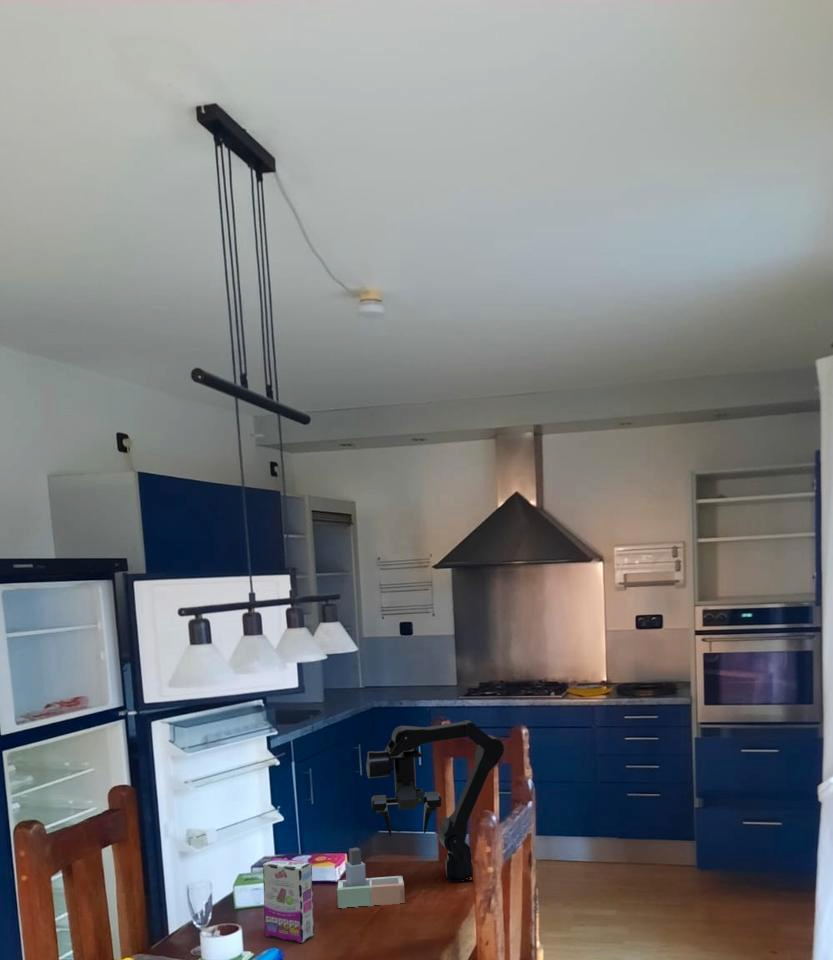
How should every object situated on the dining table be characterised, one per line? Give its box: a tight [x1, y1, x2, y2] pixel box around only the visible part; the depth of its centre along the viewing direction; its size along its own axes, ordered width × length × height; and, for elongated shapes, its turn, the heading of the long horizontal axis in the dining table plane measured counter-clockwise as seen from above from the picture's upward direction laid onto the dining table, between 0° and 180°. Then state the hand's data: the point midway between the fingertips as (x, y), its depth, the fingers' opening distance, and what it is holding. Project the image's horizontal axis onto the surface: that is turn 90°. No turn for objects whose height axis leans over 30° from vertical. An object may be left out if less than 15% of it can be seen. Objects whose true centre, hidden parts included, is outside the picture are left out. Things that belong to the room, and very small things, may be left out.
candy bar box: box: [262, 857, 315, 944], centre depth 195 cm, size 11×5×16 cm, turn 62°
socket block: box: [336, 875, 406, 909], centre depth 215 cm, size 10×17×4 cm, turn 94°
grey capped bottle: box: [344, 847, 367, 887], centre depth 215 cm, size 4×4×12 cm
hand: (407, 834), depth 225 cm, fingers open, 9 cm apart
